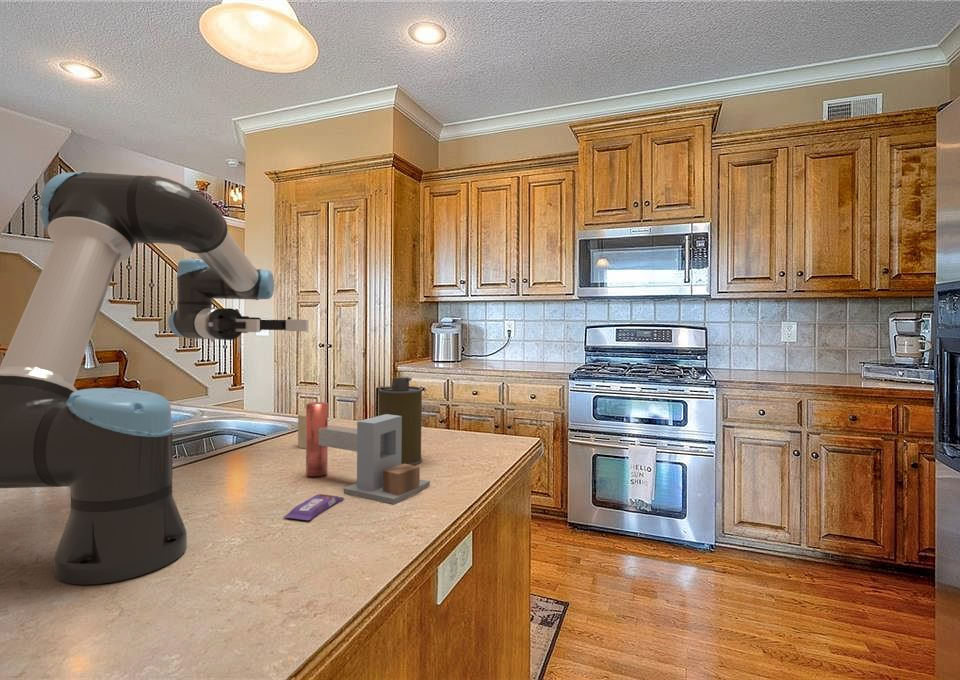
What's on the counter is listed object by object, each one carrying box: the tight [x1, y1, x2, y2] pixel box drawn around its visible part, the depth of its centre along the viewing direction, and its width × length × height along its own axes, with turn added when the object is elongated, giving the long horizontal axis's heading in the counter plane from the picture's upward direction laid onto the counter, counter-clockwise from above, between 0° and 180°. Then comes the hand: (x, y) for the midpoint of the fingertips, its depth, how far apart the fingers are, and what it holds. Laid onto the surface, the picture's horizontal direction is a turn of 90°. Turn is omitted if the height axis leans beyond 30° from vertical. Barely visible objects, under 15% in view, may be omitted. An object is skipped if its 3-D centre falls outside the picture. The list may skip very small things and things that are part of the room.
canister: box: [375, 376, 423, 466], centre depth 123 cm, size 11×10×20 cm
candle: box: [297, 407, 306, 450], centre depth 136 cm, size 6×6×10 cm
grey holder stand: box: [343, 414, 431, 505], centre depth 102 cm, size 12×12×14 cm
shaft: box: [305, 401, 385, 477], centre depth 108 cm, size 4×19×15 cm, turn 63°
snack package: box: [283, 493, 345, 521], centre depth 92 cm, size 12×2×5 cm
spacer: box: [383, 464, 421, 495], centre depth 100 cm, size 6×4×4 cm
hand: (284, 325), depth 115 cm, fingers open, 13 cm apart
